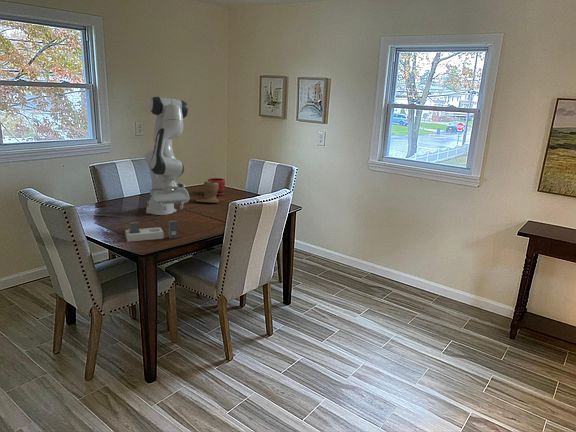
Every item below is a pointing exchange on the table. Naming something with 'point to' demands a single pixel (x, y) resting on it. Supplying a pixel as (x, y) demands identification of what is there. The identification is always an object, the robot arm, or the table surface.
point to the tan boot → (209, 193)
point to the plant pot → (221, 184)
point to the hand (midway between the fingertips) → (173, 209)
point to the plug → (173, 229)
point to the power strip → (143, 233)
